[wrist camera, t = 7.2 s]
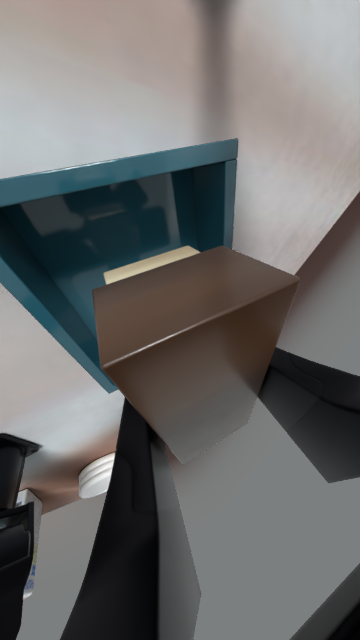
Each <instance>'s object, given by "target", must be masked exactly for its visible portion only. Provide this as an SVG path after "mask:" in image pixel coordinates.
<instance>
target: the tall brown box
mask: <svg viewBox="0 0 360 640" xmlns="http://www.w3.org/2000/svg"><path fill="white" fill-rule="evenodd" d="M103 275H104V279H105V282H106V285H104V286H101V287H98V288H95V289H93V290H92V296H93V305H94V314H95V323H96V332H97V341H98V350H99V358H100V367H101V369H102V370H103V372H104V373H105V374H106V375H107V376H108V377H109V379H110V380H111V381H112V382H113V383H114V384H115V386H116V387H117V388H118V389H119V390H120V391H121V393H122V394H123V395H124V396H125V397H126V398H127V400H128V401H129V402H130V403H131V404H132V405H133V407H134V408H135V409H136V410H137V411H138V413H139V414H140V415H141V416H142V417H143V418H144V420H145V421H146V422H147V423H148V424H149V425H150V427H151V428H152V429H153V430H154V431H155V432H156V434H157V435H158V436H159V437H160V438H161V439H162V441H163V442H164V443H165V444H166V445H167V446H168V448H169V449H170V450H171V451H172V452H173V453H174V455H175V456H176V457H177V458H178V459H179V461H180V462H181V463H182V464H185V463H187V462H188V461H190V460H192V459H193V458H195V457H196V456H198V455H199V454H201V453H202V452H204V451H205V450H207V449H209V448H210V447H212V446H213V445H215V444H216V443H218V442H219V441H221V440H222V439H224V438H225V437H227V436H228V435H230V434H232V433H233V432H235V431H236V430H238V429H239V428H241V427H242V426H244V425H245V424H247V422H248V420H249V417H250V414H251V412H252V409H253V406H254V404H255V401H256V398H257V396H258V393H259V390H260V388H261V385H262V382H263V379H264V377H265V374H266V371H267V369H268V366H269V363H270V361H271V358H272V355H273V352H274V350H275V347H276V344H277V341H278V339H279V336H280V334H281V331H282V328H283V325H284V323H285V320H286V317H287V315H288V312H289V309H290V306H291V304H292V301H293V298H294V296H295V293H296V290H297V288H298V285H299V282H300V278H299V277H296V276H294V275H292V274H289V273H287V272H285V271H282V270H280V269H277V268H275V267H273V266H270V265H268V264H265V263H263V262H261V261H258V260H256V259H253V258H251V257H249V256H246V255H244V254H241V253H239V252H236V251H234V250H232V249H229V248H227V247H224V246H218V247H216V248H213V249H210V250H207V251H204V252H199V251H197V250H195V249H193V248H192V247H190V246H185V247H182V248H179V249H176V250H172V251H169V252H166V253H163V254H160V255H157V256H154V257H151V258H148V259H145V260H141V261H138V262H135V263H132V264H129V265H126V266H123V267H120V268H117V269H114V270H110V271H107V272H104V273H103Z"/></svg>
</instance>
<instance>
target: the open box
mask: <svg viewBox="0 0 360 640" xmlns="http://www.w3.org/2000/svg"><path fill="white" fill-rule="evenodd" d="M237 155H238V138H235V139H230V140H224V141H218V142H212V143H206V144H201V145H195V146H189V147H183V148H178V149H172V150H166V151H160V152H154V153H149V154H143V155H137V156H131V157H125V158H120V159H114V160H108V161H102V162H96V163H91V164H85V165H79V166H73V167H67V168H62V169H56V170H50V171H44V172H39V173H33V174H27V175H21V176H15V177H10V178H4V179H0V283H1V284H2V285H3V286H4V287H5V288H6V289H7V290H8V291H9V292H10V293H11V294H12V295H13V296H14V297H15V298H16V299H17V300H18V301H19V302H20V303H21V304H22V305H23V306H24V307H25V308H26V309H27V310H28V311H29V312H30V314H31V315H32V316H33V317H34V318H35V319H36V320H37V321H38V322H39V323H40V324H41V325H42V326H43V327H44V328H45V329H46V330H47V331H48V332H49V333H50V334H51V335H52V336H53V337H54V338H55V339H56V340H57V341H58V342H59V343H60V344H61V345H62V346H63V347H64V348H65V349H66V350H67V351H68V352H69V353H70V354H71V356H72V357H73V358H74V359H75V360H76V361H77V362H78V363H79V364H80V365H81V366H82V367H83V368H84V369H85V370H86V371H87V372H88V373H89V374H90V375H91V376H92V377H93V378H94V379H95V380H96V381H97V382H98V383H99V384H100V385H101V386H102V387H103V388H104V389H105V390H106V391H107V392H108V393H109V394H110V393H112V392H114V391H116V390H118V388H117V387H116V386H115V384H114V383H113V382H112V381H111V380H110V379H109V377H108V376H107V375H106V374H105V373H104V372H103V370H102V369H101V367H100V358H99V350H98V341H97V332H96V323H95V314H94V305H93V296H92V290H93V289H95V288H98V287H101V286H104V285H106V282H105V279H104V275H103V273H104V272H107V271H110V270H114V269H117V268H120V267H123V266H126V265H129V264H132V263H135V262H138V261H141V260H145V259H148V258H151V257H154V256H157V255H160V254H163V253H166V252H169V251H172V250H176V249H179V248H182V247H185V246H190V247H192V248H193V249H195V250H197V251H199V252H204V251H207V250H210V249H213V248H216V247H218V246H224V247H227V248H229V249H232V238H233V221H234V204H235V187H236V170H237V160H236V159H237Z"/></svg>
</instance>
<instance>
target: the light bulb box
mask: <svg viewBox="0 0 360 640" xmlns="http://www.w3.org/2000/svg"><path fill="white" fill-rule="evenodd" d="M32 501H34V555H33V561H32V566H31V570H30V574H29V577H28V580H27V583H26V586H25V588H24V595H23V599H25V598H27V597H28V596H30V595H31V594H32V593H33V585H34V575H35V566H36V556H37V548H38V547H37V546H38V539H39V530H40V521H41V512H42V504H43V503H42V502H41V501H40V500H39V499H38V498H37V497H36V496H35V495H34V494H33V493H31V492H30V491H29V490H28V489H25V490H23V491H21V492H19V493H18V498H17V503H16V507H17V506H21V505H25V504H27V503H28V502H32Z"/></svg>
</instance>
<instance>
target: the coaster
mask: <svg viewBox="0 0 360 640" xmlns="http://www.w3.org/2000/svg"><path fill="white" fill-rule="evenodd" d="M114 457H115V452H114V453H111V454H108V455H106V456H103V457H101V458H99V459H97V460H95V461H94V462H92V463H91V464H89V465H88V466H86V467H85V468H84V469H83V470H82V472H81V473H80V475H79V497H81V498H90V497H94V496H97V495H99V494H102V493H104V492H106V491H108V487H109V482H110V478H111V473H112V468H113V463H114Z"/></svg>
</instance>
